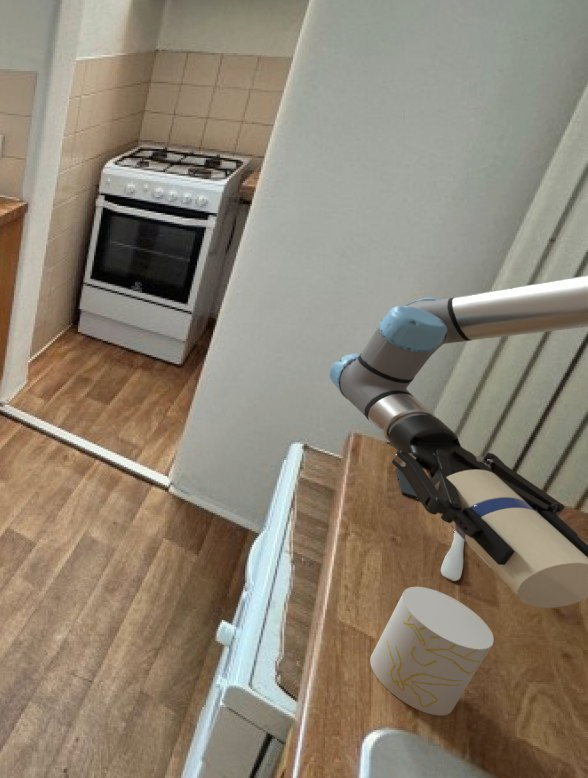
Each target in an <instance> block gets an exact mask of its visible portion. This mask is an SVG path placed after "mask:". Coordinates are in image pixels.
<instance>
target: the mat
mask: <svg viewBox="0 0 588 778" xmlns="http://www.w3.org/2000/svg"><path fill="white" fill-rule="evenodd" d="M396 471H397V473H396V476H397V475H398V477H397V480H398V479H399V481H398V485H399V484H400V485H399V489H400V488H401V489H400V493H402V494H401V495H404V494H405V495H404V496H407V497H410V498H413V497H414V498H413V499H415V498H418V496H417V495H416V493H415V492H414V490H413V489H412V487H411V485H410V484H409V482H408V481H407V479H406V477H405V476H404V474H403V473H402V472H401V471H400V470H399V469H398V468H397V467H395V472H396ZM433 485H434V484H433ZM418 499H419V498H418ZM418 499H417V500H418Z"/></svg>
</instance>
